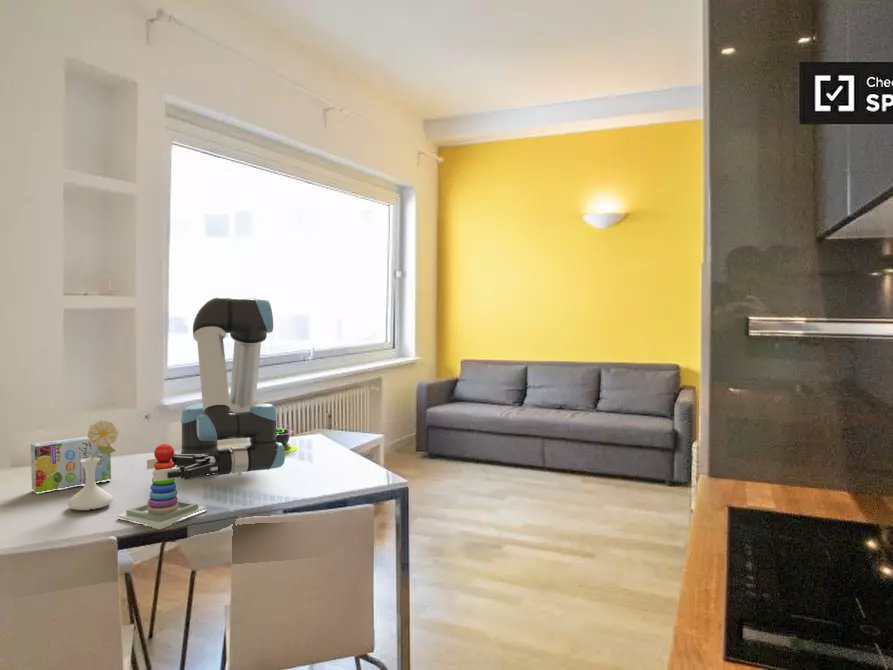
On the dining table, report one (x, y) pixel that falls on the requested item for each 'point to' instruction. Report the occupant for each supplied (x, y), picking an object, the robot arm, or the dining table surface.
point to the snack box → (65, 463)
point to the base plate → (160, 521)
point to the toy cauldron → (284, 439)
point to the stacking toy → (163, 484)
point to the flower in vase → (91, 493)
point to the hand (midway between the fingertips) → (149, 469)
